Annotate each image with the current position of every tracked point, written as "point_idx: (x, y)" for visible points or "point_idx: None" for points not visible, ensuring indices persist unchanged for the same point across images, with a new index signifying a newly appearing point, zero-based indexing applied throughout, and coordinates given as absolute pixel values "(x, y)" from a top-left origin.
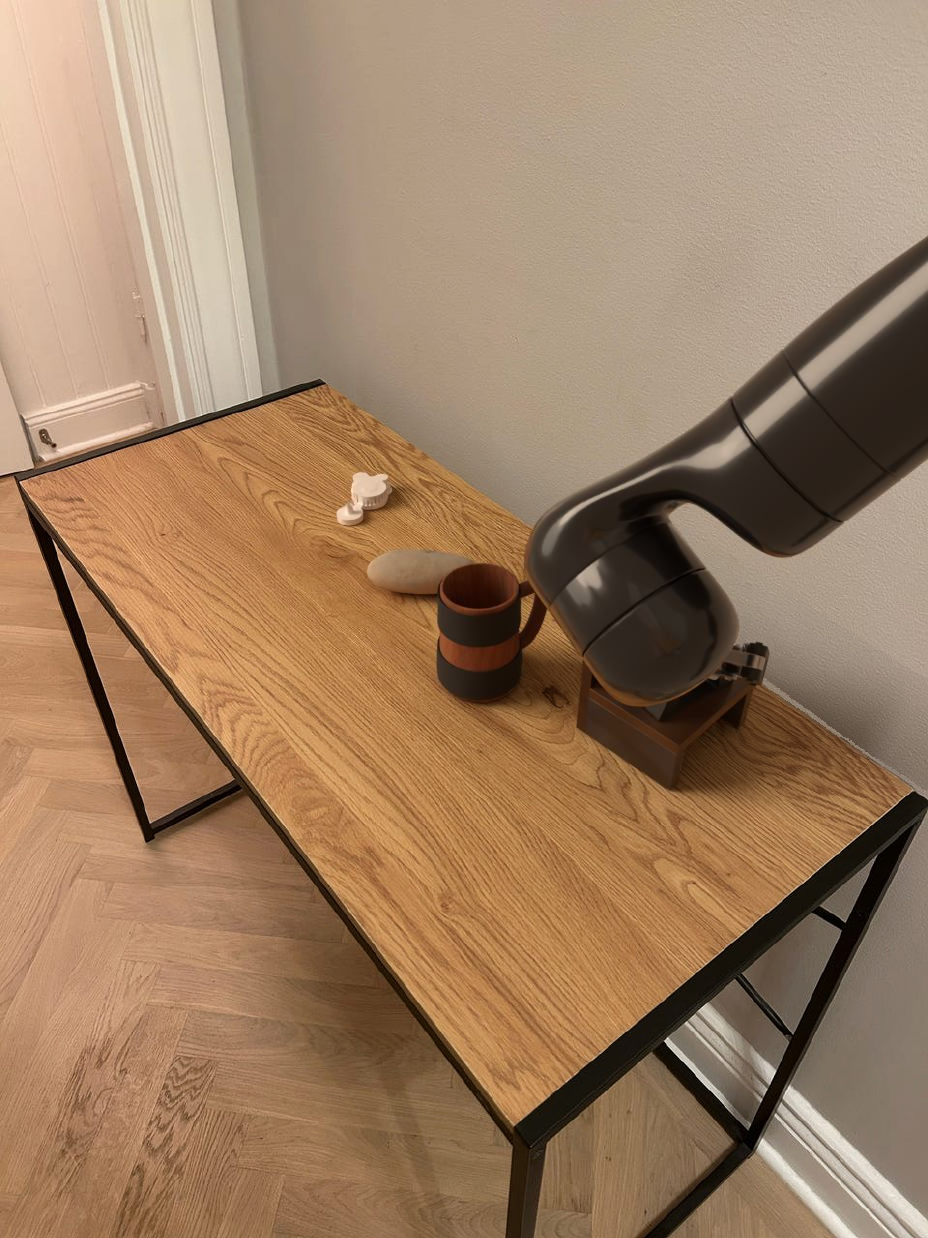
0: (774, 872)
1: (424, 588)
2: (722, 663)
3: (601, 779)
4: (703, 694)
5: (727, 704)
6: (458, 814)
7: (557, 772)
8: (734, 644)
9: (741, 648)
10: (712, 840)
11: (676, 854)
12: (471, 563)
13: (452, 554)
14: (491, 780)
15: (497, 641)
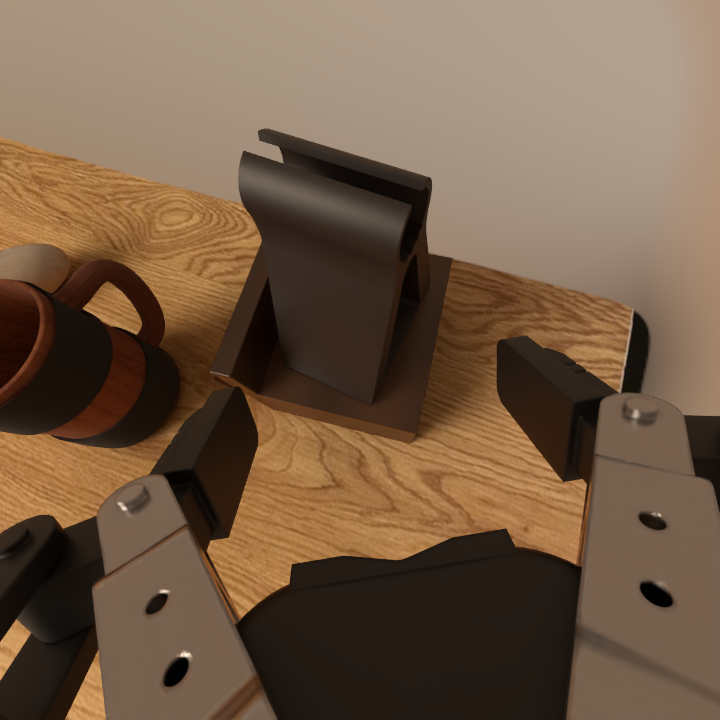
0: (569, 495)
1: None
2: (571, 450)
3: (331, 469)
4: (405, 325)
5: (439, 321)
6: None
7: (278, 488)
8: (642, 415)
9: (684, 427)
10: (486, 488)
11: (459, 534)
12: (41, 251)
13: (10, 250)
14: (209, 548)
15: (85, 401)
